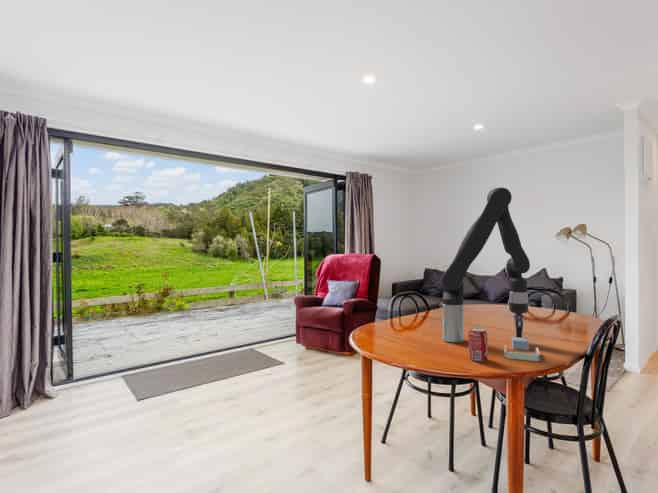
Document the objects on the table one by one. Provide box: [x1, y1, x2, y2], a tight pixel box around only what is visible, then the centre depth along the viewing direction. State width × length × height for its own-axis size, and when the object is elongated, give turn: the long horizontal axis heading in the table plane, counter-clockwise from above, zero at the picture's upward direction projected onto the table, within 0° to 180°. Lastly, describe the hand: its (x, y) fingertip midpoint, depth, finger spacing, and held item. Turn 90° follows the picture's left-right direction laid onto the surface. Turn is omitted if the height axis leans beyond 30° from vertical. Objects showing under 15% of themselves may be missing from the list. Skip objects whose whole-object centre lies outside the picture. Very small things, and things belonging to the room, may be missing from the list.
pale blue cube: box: [511, 336, 530, 351], centre depth 164 cm, size 6×6×4 cm
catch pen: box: [503, 344, 541, 362], centre depth 153 cm, size 13×11×2 cm
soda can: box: [467, 327, 489, 363], centre depth 149 cm, size 7×7×12 cm
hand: (519, 339), depth 172 cm, fingers closed
